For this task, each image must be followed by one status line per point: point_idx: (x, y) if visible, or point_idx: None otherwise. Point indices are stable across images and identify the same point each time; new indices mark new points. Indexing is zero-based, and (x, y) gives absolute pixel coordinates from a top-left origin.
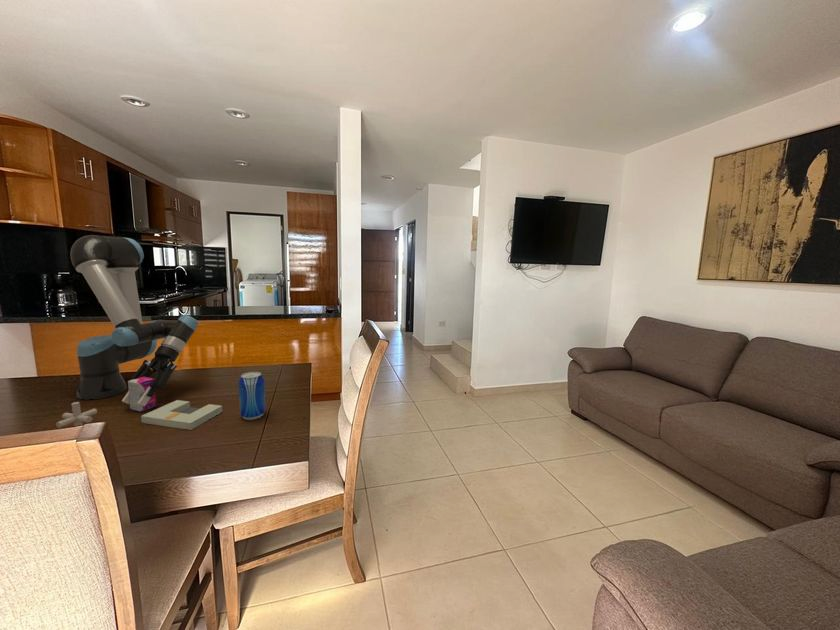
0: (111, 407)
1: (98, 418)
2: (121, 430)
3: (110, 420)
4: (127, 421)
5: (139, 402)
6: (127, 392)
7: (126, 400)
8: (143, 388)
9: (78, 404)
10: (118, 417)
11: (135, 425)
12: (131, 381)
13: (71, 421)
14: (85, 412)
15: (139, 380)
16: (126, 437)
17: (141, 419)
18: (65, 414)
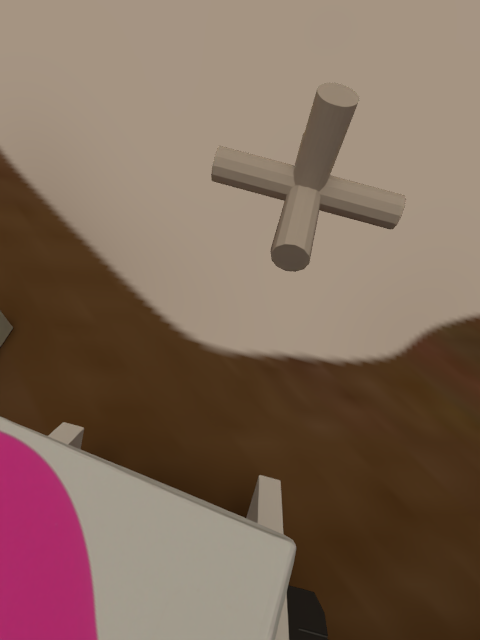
0: (439, 605)
1: (338, 394)
2: (85, 253)
3: (239, 366)
4: (120, 349)
5: (61, 427)
6: (311, 599)
7: (250, 509)
8: None
9: (314, 102)
10: (223, 407)
11: (37, 299)
12: (199, 519)
13: (295, 163)
14: (299, 202)
15: (45, 613)
16: (18, 195)
17: (2, 314)
18: (385, 190)
